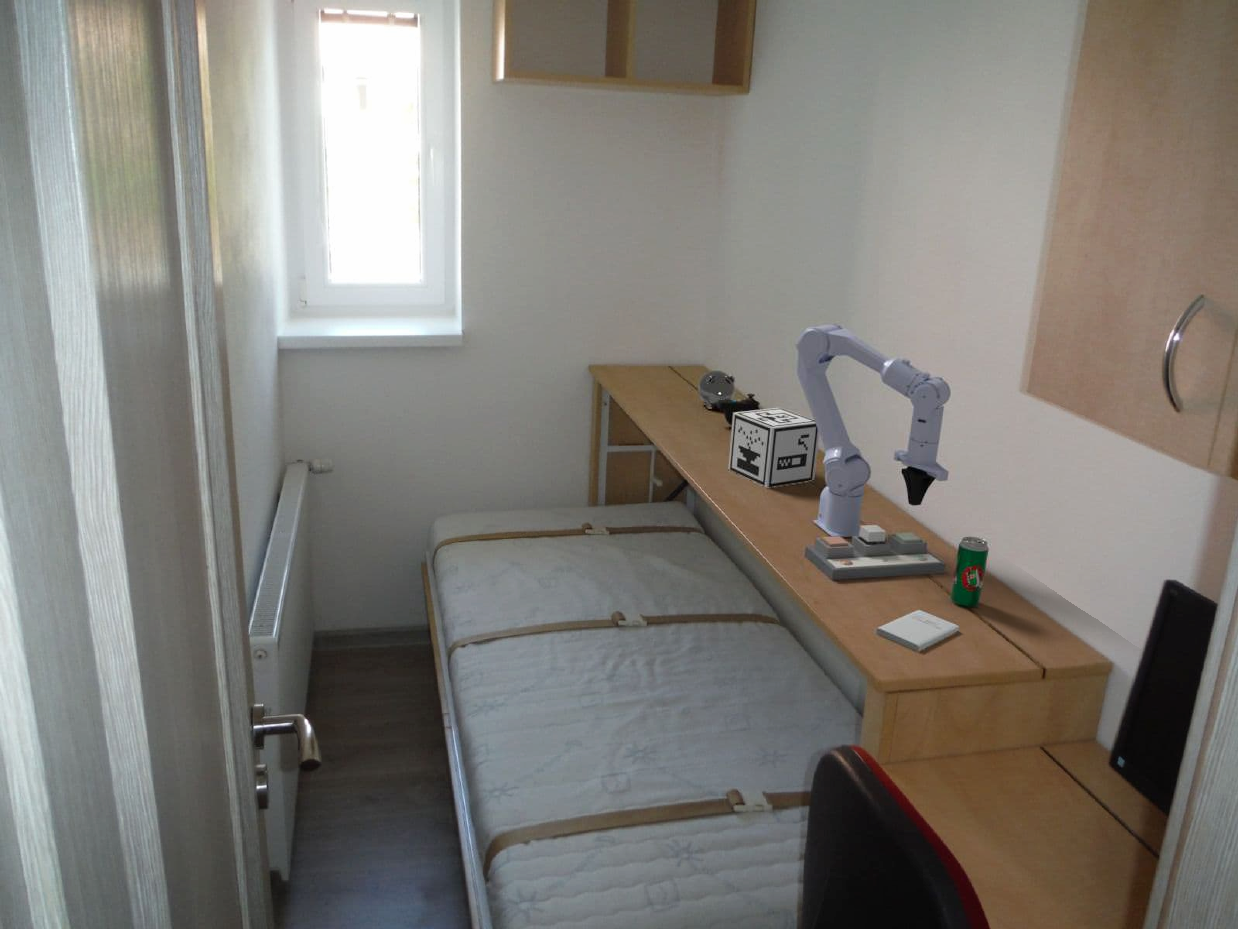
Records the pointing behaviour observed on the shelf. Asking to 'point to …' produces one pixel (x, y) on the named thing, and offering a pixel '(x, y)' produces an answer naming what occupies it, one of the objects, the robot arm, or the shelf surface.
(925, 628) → the external hard drive
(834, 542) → the terracotta button
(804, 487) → the shelf surface
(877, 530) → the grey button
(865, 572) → the button board
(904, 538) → the sage button
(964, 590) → the soda can
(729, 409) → the controller
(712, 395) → the piggy bank
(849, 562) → the pattern card
